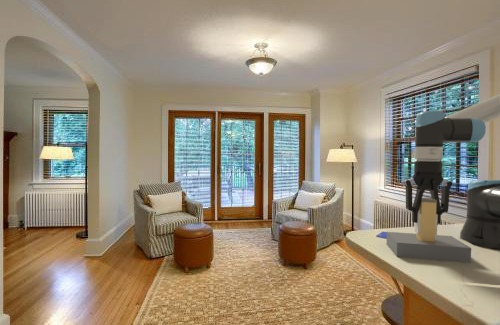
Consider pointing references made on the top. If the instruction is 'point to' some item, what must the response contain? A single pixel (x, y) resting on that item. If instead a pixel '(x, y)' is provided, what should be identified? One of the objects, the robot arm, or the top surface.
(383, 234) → the hard drive
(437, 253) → the socket block
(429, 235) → the plug
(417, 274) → the top surface
